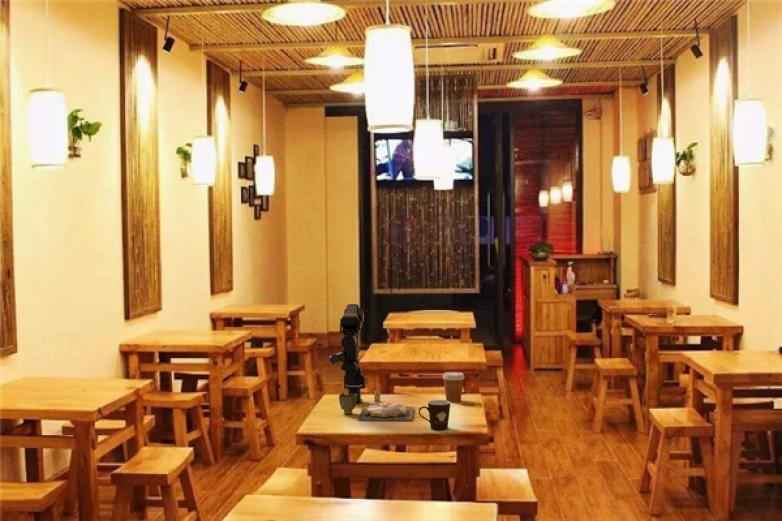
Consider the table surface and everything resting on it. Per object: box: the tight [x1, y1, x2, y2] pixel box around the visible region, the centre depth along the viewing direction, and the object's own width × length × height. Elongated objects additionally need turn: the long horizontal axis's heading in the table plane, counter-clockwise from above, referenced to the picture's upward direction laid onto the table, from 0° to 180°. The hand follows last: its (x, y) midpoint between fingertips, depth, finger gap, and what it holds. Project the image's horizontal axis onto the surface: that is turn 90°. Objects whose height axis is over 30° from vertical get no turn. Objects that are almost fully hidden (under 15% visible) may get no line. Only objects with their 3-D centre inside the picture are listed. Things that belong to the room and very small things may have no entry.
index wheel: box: [364, 390, 410, 417], centre depth 345 cm, size 20×19×6 cm
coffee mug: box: [418, 399, 451, 432], centre depth 322 cm, size 12×9×10 cm
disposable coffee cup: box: [442, 371, 465, 403], centre depth 369 cm, size 10×10×12 cm
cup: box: [338, 392, 357, 415], centre depth 347 cm, size 8×7×8 cm
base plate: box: [357, 405, 415, 422], centre depth 345 cm, size 21×21×1 cm
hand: (350, 384), depth 346 cm, fingers closed
